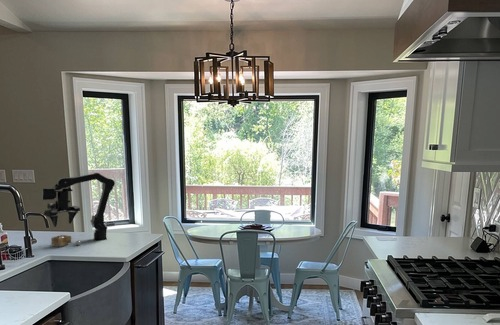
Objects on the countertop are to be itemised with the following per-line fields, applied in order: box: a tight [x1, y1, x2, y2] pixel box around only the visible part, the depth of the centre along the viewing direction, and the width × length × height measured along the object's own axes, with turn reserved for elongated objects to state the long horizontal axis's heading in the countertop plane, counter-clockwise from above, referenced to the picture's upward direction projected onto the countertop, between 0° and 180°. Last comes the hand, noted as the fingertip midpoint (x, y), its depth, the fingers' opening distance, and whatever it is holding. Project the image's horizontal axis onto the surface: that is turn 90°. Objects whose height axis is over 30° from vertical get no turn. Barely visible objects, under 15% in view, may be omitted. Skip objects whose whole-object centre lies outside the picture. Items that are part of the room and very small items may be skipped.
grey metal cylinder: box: [75, 240, 81, 247], centre depth 174 cm, size 2×2×2 cm
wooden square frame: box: [50, 234, 72, 246], centre depth 173 cm, size 7×7×4 cm
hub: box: [53, 236, 69, 248], centre depth 173 cm, size 7×7×5 cm
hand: (62, 225), depth 174 cm, fingers open, 9 cm apart
